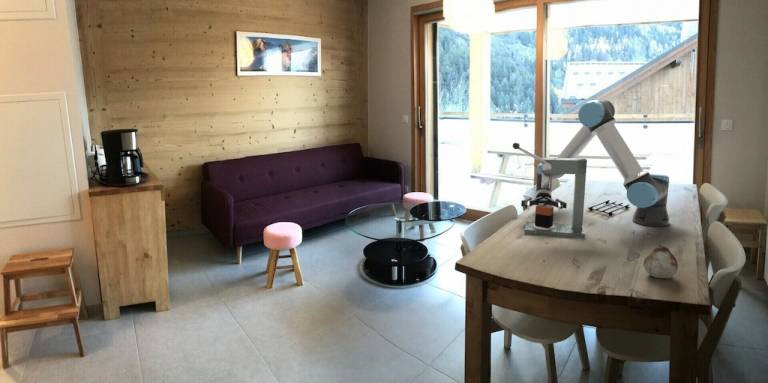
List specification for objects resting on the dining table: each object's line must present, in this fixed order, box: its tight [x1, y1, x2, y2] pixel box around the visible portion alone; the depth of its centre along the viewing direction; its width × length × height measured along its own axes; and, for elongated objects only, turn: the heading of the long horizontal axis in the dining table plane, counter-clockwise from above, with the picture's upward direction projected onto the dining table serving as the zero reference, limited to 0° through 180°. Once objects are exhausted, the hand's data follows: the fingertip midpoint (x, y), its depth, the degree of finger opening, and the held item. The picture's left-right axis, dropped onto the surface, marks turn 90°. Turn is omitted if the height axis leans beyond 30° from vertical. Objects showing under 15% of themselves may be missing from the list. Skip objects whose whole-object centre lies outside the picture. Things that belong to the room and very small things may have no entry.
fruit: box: [643, 244, 679, 279], centre depth 166 cm, size 10×9×12 cm
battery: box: [534, 203, 554, 228], centre depth 219 cm, size 4×7×10 cm, turn 49°
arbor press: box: [512, 141, 588, 239], centre depth 216 cm, size 32×14×40 cm, turn 72°
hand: (543, 208), depth 222 cm, fingers open, 13 cm apart
